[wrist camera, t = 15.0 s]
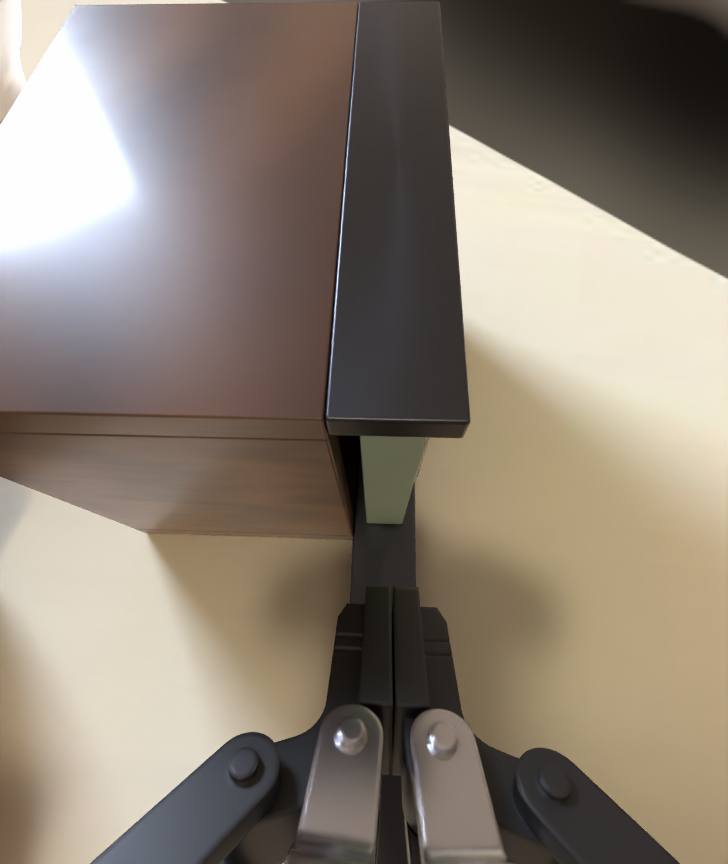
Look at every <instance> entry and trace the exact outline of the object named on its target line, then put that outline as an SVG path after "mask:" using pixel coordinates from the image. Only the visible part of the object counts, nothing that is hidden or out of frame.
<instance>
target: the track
mask: <svg viewBox="0 0 728 864" xmlns="http://www.w3.org/2000/svg"><path fill="white" fill-rule="evenodd" d="M324 418H325V422H326V426H327V431H328V433H329V434H330V435H348V436H358V437H357V459H356V481H355V503H354V525H353V547H352V568H351V590H350V603H351V604H365V597H366V585H377V586H391V613H392V592H393V586H396V587H416V557H415V482H414V484H413V487H412V491H411V494H410V498H409V501H408V505H407V508H406V512H405V515H404V519H403V523H402V524H378V523H367V521H366V509H365V496H364V484H363V471H362V459H361V446H360V436H390V437H432V438H462V437H463V436H464V434H465V432H466V430H467V428H468V426H469V424H470V421H471V420H470V407H469V393H468V380H467V366H466V353H465V339H464V326H463V312H462V299H461V285H460V272H459V258H458V245H457V231H456V218H455V204H454V191H453V177H452V164H451V150H450V137H449V123H448V110H447V96H446V83H445V69H444V57H443V43H442V29H441V17H440V4H439V2H438V1H433V2H432V1H430V2H361V3H359V5H358V15H357V27H356V39H355V51H354V63H353V76H352V88H351V100H350V112H349V124H348V136H347V148H346V161H345V173H344V185H343V197H342V209H341V221H340V234H339V246H338V258H337V270H336V282H335V294H334V306H333V319H332V331H331V343H330V355H329V367H328V379H327V392H326V404H325V416H324ZM377 864H408V857H407V846H406V836H405V825H404V812H403V807H402V784H401V776H395V775H392V742H391V746H390V765H389V775H383V774H382V786H381V809H380V826H379V840H378V853H377Z"/></svg>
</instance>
